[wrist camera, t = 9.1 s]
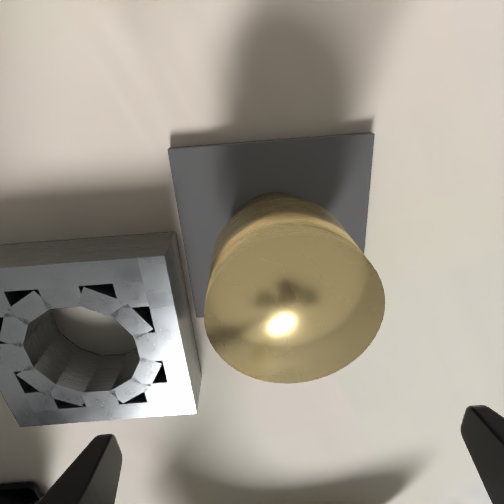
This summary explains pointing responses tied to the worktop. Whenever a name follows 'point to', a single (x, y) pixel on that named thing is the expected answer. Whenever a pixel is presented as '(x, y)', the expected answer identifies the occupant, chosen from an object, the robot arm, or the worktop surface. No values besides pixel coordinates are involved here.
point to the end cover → (290, 292)
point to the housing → (106, 302)
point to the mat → (266, 187)
